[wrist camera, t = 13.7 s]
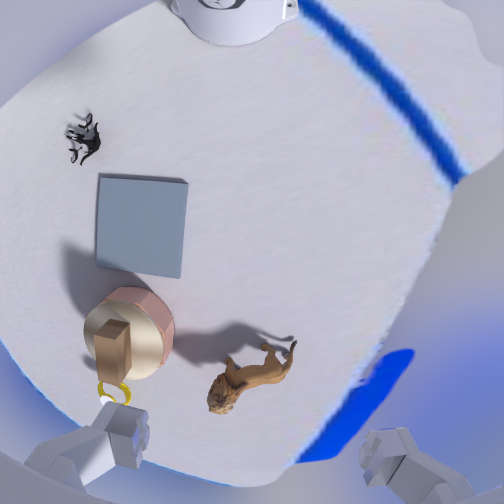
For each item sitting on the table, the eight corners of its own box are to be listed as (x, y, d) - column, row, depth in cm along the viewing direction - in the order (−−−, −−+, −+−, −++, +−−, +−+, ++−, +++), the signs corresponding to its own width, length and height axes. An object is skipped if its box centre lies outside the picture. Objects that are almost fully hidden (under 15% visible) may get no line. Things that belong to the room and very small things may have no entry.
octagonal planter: (102, 280, 45) (84, 293, 39) (176, 292, 45) (164, 308, 39) (106, 348, 47) (90, 366, 41) (174, 362, 47) (164, 383, 41)
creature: (66, 158, 42) (97, 174, 41) (42, 154, 37) (73, 171, 36) (84, 111, 41) (118, 123, 39) (61, 103, 35) (94, 114, 34)
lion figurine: (224, 390, 48) (218, 426, 40) (205, 367, 47) (195, 402, 39) (304, 350, 46) (312, 384, 38) (287, 324, 46) (293, 355, 37)
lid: (84, 292, 39) (61, 308, 33) (165, 308, 39) (150, 328, 33) (90, 365, 41) (73, 386, 36) (164, 383, 41) (152, 408, 36)
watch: (104, 376, 49) (89, 393, 43) (111, 368, 49) (95, 385, 43) (130, 398, 49) (116, 417, 43) (137, 391, 49) (124, 410, 43)
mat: (103, 177, 42) (100, 177, 41) (188, 183, 42) (186, 183, 41) (99, 264, 44) (96, 266, 43) (180, 276, 44) (178, 278, 43)
